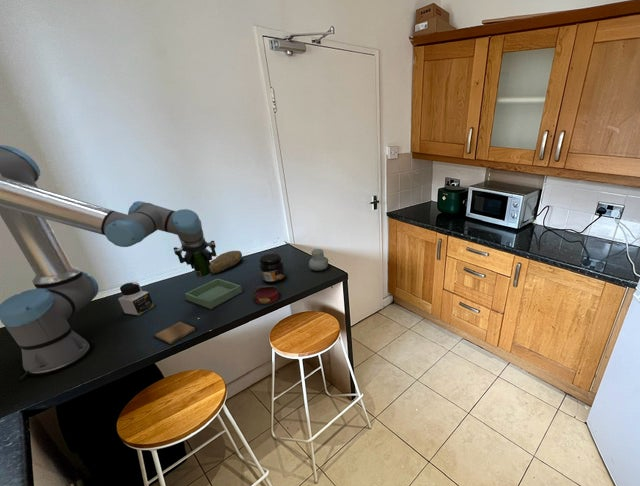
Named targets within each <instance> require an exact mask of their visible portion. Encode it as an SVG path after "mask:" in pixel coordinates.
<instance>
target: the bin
mask: <svg viewBox="0 0 640 486" xmlns="http://www.w3.org/2000/svg"><path fill="white" fill-rule="evenodd" d="M241 293H243V289H242V285H240V284H237V283H234V282H230V281H227V280H225V279H221V278H215V279H213V280H211V281H209V282H207V283H205V284H203V285H200V286H198V287H196V288H194V289H192V290H190V291H188V292H185V293H184V296H185V298H186V301H188V302H190V303H193V304H196V305H199V306H201V307H204V308H206V309H210V310H212V309H214V308H215V307H217V306H219V305H221V304H223V303H225V302H227V301H228V300H230V299H232V298H234V297H235V296H237V295H239V294H241Z"/></svg>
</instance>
